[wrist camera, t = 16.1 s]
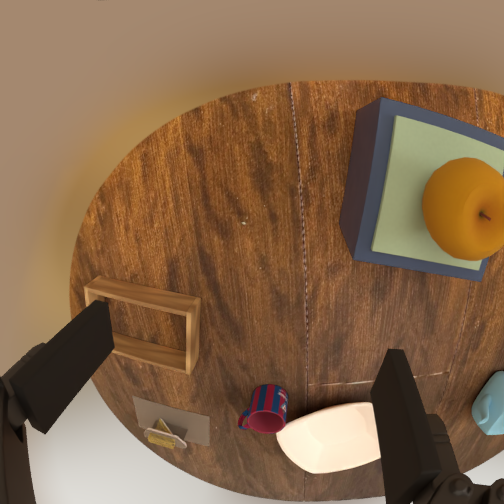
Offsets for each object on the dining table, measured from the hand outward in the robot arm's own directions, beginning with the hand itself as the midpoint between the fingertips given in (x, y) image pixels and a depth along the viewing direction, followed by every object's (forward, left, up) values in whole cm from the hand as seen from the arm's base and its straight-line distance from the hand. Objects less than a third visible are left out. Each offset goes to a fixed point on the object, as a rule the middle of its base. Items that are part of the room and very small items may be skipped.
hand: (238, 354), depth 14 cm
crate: (-7, +16, -32) cm, 37 cm away
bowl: (+41, +18, -33) cm, 55 cm away
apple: (-7, +16, -18) cm, 25 cm away
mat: (-7, +16, -18) cm, 25 cm away
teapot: (+29, +51, -33) cm, 67 cm away
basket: (+23, -21, -32) cm, 45 cm away
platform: (+51, -17, -33) cm, 63 cm away
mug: (+36, +2, -33) cm, 49 cm away
